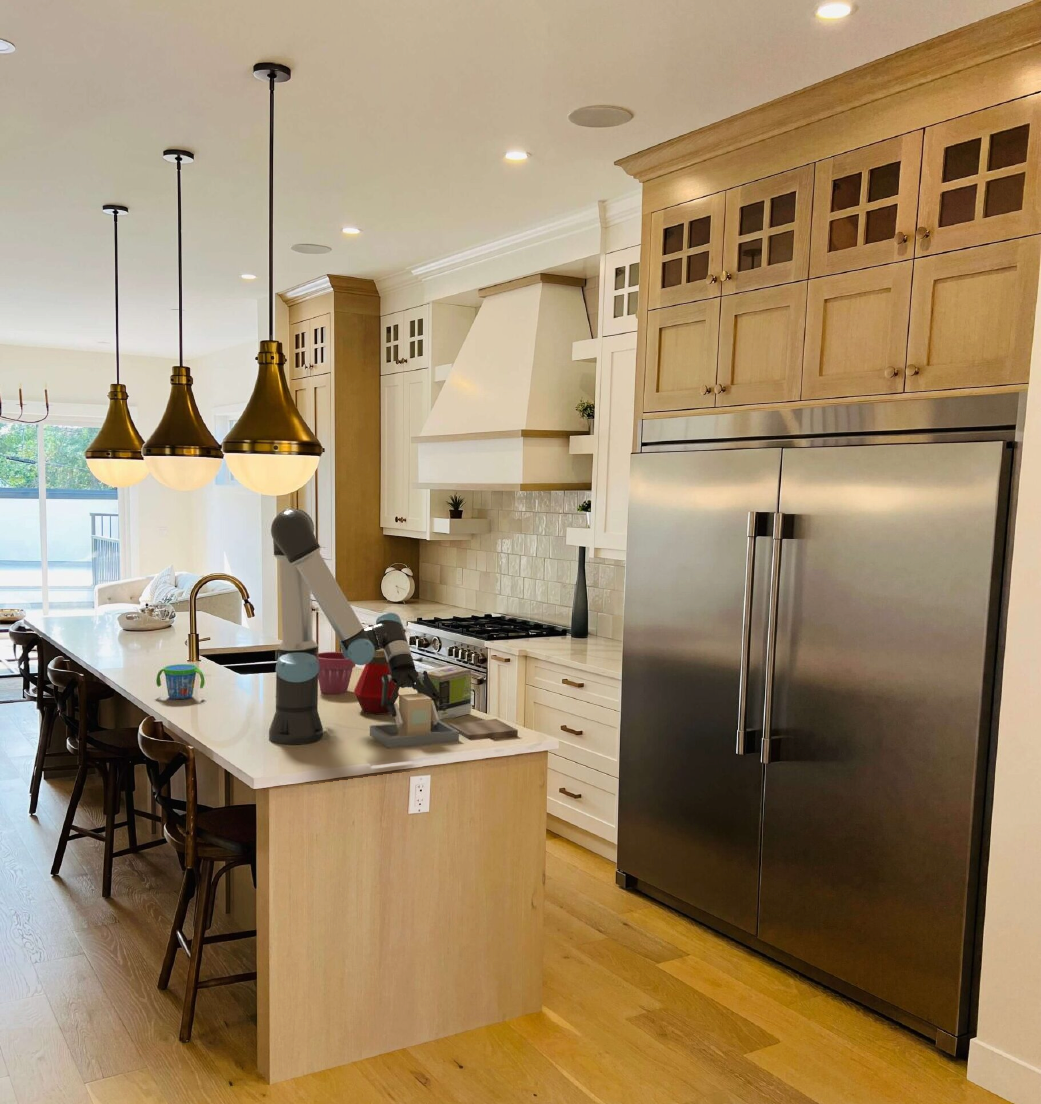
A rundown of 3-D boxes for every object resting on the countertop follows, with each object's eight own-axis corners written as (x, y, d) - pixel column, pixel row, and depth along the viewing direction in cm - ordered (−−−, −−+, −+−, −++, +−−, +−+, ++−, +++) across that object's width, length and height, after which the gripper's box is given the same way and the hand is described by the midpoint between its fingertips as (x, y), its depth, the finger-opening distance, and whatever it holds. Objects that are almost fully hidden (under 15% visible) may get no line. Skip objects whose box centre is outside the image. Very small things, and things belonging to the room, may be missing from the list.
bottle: (343, 709, 310) (345, 647, 309) (377, 703, 320) (378, 643, 319) (374, 718, 300) (376, 655, 298) (408, 712, 310) (409, 650, 308)
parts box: (407, 742, 272) (408, 700, 271) (398, 735, 278) (399, 694, 277) (430, 739, 275) (431, 698, 274) (420, 733, 281) (421, 693, 280)
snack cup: (149, 699, 315) (149, 668, 314) (167, 692, 325) (167, 662, 325) (193, 702, 312) (194, 671, 311) (210, 695, 322) (210, 665, 322)
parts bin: (388, 751, 265) (388, 738, 265) (369, 737, 278) (370, 725, 278) (458, 743, 275) (459, 731, 275) (437, 730, 288) (437, 719, 288)
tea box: (448, 708, 316) (450, 664, 315) (471, 714, 310) (472, 669, 309) (415, 716, 305) (417, 670, 303) (438, 722, 298) (440, 675, 297)
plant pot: (360, 688, 341) (361, 653, 340) (346, 697, 327) (347, 660, 326) (322, 685, 343) (322, 650, 342) (306, 694, 329) (307, 657, 329)
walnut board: (468, 741, 277) (468, 735, 277) (448, 730, 289) (448, 723, 289) (517, 736, 285) (517, 729, 285) (496, 725, 297) (496, 718, 297)
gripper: (431, 664, 294) (451, 727, 282) (359, 669, 283) (376, 734, 271) (439, 650, 289) (459, 713, 277) (365, 654, 278) (383, 720, 266)
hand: (418, 723), depth 274 cm, fingers open, 10 cm apart
